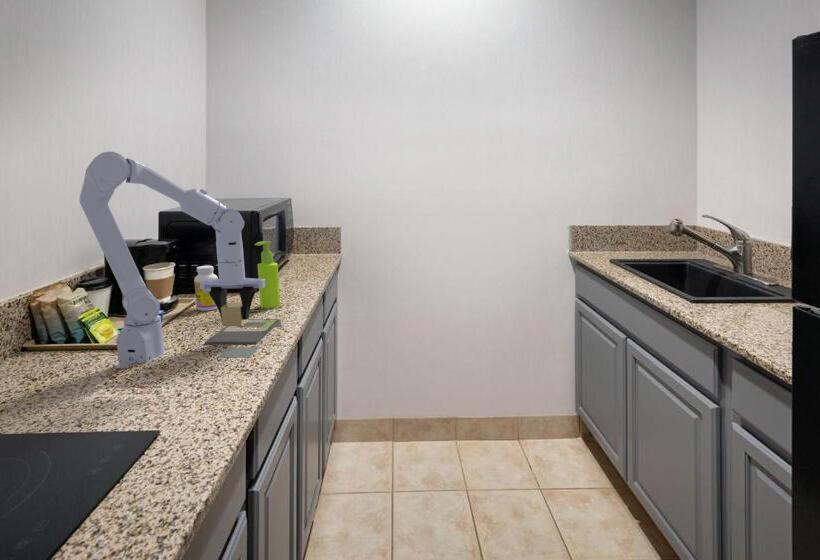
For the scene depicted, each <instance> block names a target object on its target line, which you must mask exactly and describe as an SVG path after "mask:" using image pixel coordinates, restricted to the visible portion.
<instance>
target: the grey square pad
mask: <svg viewBox="0 0 820 560" xmlns="http://www.w3.org/2000/svg"><path fill="white" fill-rule="evenodd" d="M260 348H261V347H260V346H257V347H256V346H253V347H251V346H240V347H239V346H238V347H236V346H232V347H231V346H230V347H228V348H227V349H225V350H223V352H222V353H220V354H219V355H218V356H217V357H216V358H217V359H219V358H220V359H222V358H223V359H225V358H226V359H227V358H228V359H229V358H230V359H231V358H237V359H240V358H243V359H244V358H245V359H247V358H251V357H252V356H253V355H254V354H255V353H256V352H257V351H258V350H259V349H260Z"/></svg>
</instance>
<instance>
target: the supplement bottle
mask: <svg viewBox="0 0 820 560" xmlns="http://www.w3.org/2000/svg"><path fill="white" fill-rule="evenodd" d="M196 272H197V275H196V276H195V277H194V279H193V281H194V282H193V283H194V289H195V290H194V292H195V302H196V309H197V310H198V311H201V312H210V311H214V310H218V308H217V306H216V304H215V302H214V301H213V299H212V298H211V296H210V295H209V292H210V291H211V289H200V281H201V280H207V279H219V276H217V275H216V274H215V273H214V266H213V265H201V266H197V267H196Z"/></svg>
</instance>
